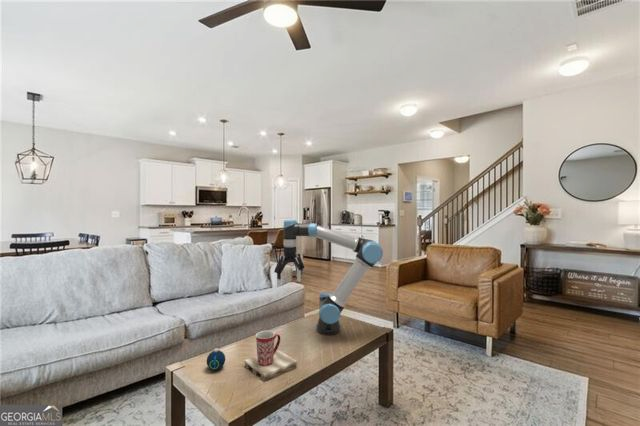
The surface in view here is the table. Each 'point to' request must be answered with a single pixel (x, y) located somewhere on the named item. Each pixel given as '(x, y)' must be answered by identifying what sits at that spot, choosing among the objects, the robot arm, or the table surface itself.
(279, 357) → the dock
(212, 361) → the christmas ornament
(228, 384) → the table surface
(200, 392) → the table surface
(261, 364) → the mug
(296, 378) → the table surface
